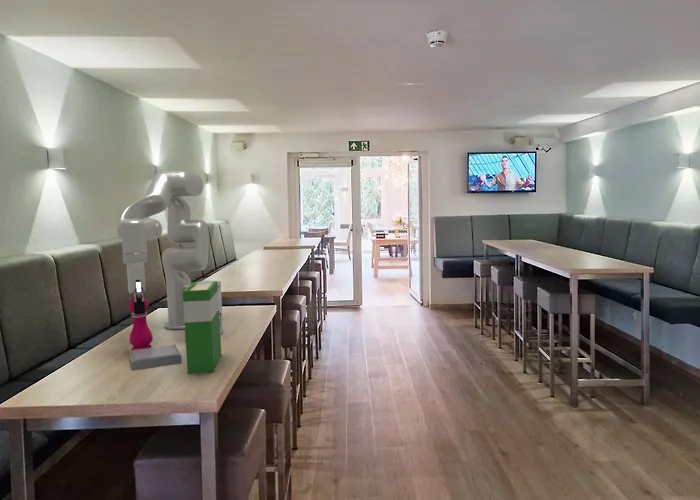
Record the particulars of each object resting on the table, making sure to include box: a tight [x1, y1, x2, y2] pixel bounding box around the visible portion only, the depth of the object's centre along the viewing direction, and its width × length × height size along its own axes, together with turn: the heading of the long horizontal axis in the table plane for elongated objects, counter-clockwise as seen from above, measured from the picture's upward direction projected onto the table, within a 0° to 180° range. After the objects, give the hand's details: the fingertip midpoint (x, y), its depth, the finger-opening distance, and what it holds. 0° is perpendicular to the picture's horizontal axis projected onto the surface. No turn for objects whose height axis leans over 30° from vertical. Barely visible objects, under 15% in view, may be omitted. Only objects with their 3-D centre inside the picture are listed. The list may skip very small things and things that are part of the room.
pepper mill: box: [128, 297, 153, 350], centre depth 180 cm, size 7×7×20 cm
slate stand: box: [129, 344, 183, 371], centre depth 171 cm, size 14×14×3 cm
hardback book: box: [183, 280, 222, 375], centre depth 165 cm, size 18×7×24 cm, turn 6°
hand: (139, 311), depth 180 cm, fingers closed on pepper mill, 6 cm apart
